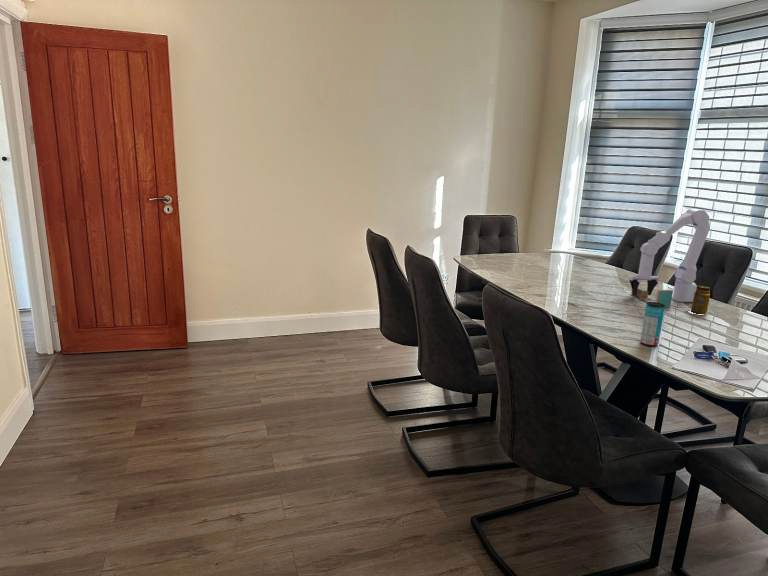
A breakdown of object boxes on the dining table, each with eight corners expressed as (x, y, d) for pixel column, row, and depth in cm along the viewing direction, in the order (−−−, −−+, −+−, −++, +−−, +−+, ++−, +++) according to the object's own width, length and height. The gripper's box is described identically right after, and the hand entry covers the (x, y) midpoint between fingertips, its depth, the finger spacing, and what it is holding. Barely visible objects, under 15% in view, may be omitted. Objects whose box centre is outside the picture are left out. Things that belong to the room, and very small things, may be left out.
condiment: (710, 314, 235) (715, 287, 232) (700, 316, 230) (706, 289, 227) (693, 309, 240) (698, 284, 238) (684, 312, 236) (688, 286, 233)
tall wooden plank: (627, 294, 265) (628, 286, 264) (638, 294, 266) (640, 286, 265) (648, 303, 249) (649, 295, 248) (660, 303, 250) (661, 295, 249)
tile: (668, 306, 244) (671, 289, 243) (670, 307, 243) (673, 290, 241) (654, 306, 244) (657, 289, 242) (656, 307, 242) (659, 290, 240)
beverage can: (661, 347, 187) (668, 306, 184) (645, 347, 187) (652, 306, 183) (652, 341, 193) (658, 302, 189) (636, 341, 192) (643, 301, 189)
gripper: (654, 266, 261) (650, 292, 264) (627, 265, 259) (623, 292, 262) (663, 269, 254) (658, 296, 257) (635, 268, 252) (631, 296, 255)
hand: (641, 294), depth 259 cm, fingers open, 7 cm apart
